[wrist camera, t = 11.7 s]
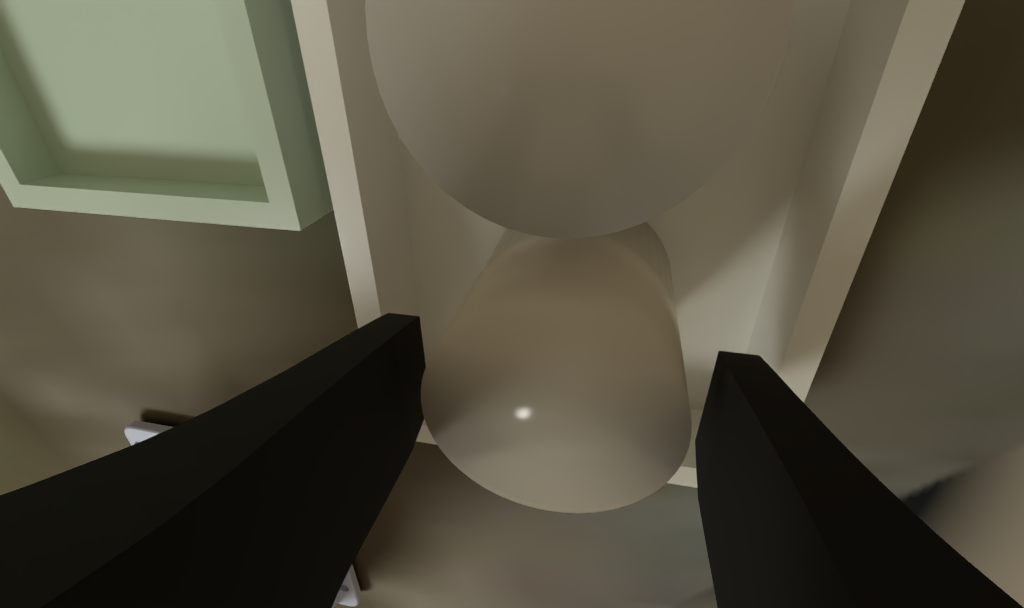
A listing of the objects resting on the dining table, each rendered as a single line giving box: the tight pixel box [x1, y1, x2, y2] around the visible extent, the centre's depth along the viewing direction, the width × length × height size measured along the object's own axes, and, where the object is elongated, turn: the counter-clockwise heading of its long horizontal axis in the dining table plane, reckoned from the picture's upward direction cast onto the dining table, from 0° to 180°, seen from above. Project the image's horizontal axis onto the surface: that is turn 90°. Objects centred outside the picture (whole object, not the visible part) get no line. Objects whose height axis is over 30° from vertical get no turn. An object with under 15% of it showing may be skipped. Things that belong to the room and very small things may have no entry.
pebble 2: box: [421, 222, 692, 513], centre depth 9 cm, size 4×4×4 cm
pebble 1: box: [365, 0, 795, 239], centre depth 7 cm, size 4×4×4 cm
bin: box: [291, 0, 965, 488], centre depth 9 cm, size 12×9×2 cm
